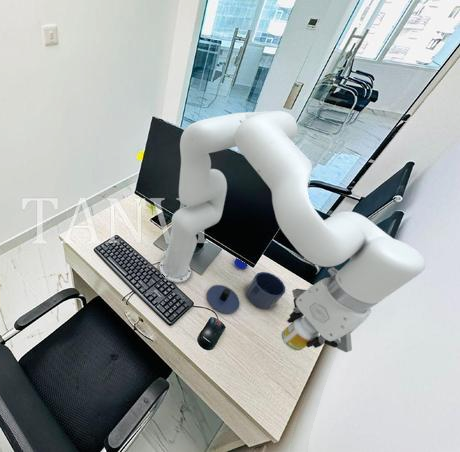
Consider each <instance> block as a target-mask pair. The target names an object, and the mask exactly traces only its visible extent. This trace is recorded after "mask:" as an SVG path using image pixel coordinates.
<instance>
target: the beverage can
mask: <svg viewBox="0 0 460 452" xmlns="http://www.w3.org/2000/svg"><path fill="white" fill-rule="evenodd" d="M233 265H234V266H235V267H236V268H237V269H238V270H246V269H247V268H248V266H249V264H248V265H247V264H246V263H244V262H242V261H241V260H239V259H237V257H236V258H235V259H234V262H233Z"/></svg>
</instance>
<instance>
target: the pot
mask: <svg viewBox="0 0 460 452" xmlns="http://www.w3.org/2000/svg"><path fill="white" fill-rule="evenodd" d="M285 293H286V285H285V283H284V282H283V281H282V279H280V277H278V276H277V275H275V274H273V273H270V272H267V271H261V272H258V273H256V274H255V275H254V277H253V278H252V279H251V282H250V283H249V284H248V286H247V287H246V289H245V296H246V298H247V300H248V301H249V302H250V303H251V304H252V305H253V306H254V307H256V308H259V309H262V310H270V309H272V308H274V306H275V305H276V304H277V302H278V301H279V300H280V299H281V298H282V297H283V295H284V294H285Z"/></svg>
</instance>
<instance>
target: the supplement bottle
mask: <svg viewBox="0 0 460 452" xmlns="http://www.w3.org/2000/svg"><path fill="white" fill-rule="evenodd" d="M318 336H320V333H319V332H318V331H317V330H316V329H315V328H314V326H313V325H312V324H311V323H310V322H309V321H308V319H307V318H306V317H305V316H303V317H302V318H297V319H296V320H294V321H293V322H292V323H289V325H288V326H287V327H286V328H284V329H283V330H282V332H281V334H280V338H281V340H282V342H283V344H284V345H285V346H286V347H288V349H290V350H293V351H295V352H296V351H297V352H299V351H302V350H304V349H305V348H307V346H306V344H307V343H308V342H310V341H311V340H312V339H314V338H316V337H318Z"/></svg>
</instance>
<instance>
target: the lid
mask: <svg viewBox="0 0 460 452" xmlns="http://www.w3.org/2000/svg"><path fill="white" fill-rule="evenodd" d="M206 298H207V302H208V303H209V305H210V306H211V308H213V309H214V310H216V311H218V312H220V313H222V314H233V313H236V311H237V310H238V309H239V306H240V299H239V297H238V295H237V294H236V292H235V291H233V289H231V288H230V287H228V286H225V285H221V284H215V285H212V286H210V288H209V289H208V291H207V293H206Z"/></svg>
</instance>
